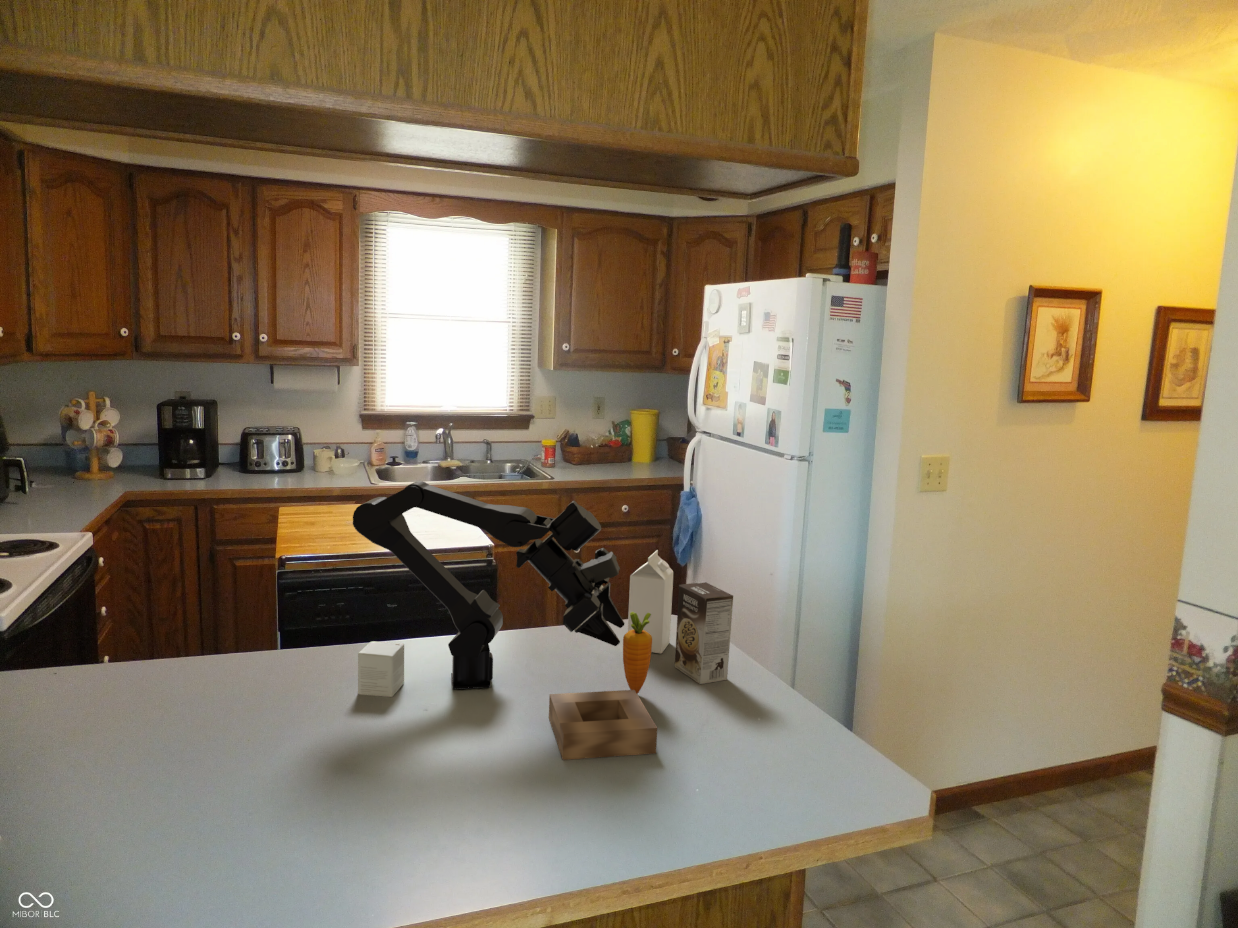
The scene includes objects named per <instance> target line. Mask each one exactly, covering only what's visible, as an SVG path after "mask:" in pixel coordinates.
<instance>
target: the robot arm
mask: <svg viewBox="0 0 1238 928" xmlns="http://www.w3.org/2000/svg"><path fill="white" fill-rule="evenodd" d="M414 508H418V509H419V510H420V509H421V510H424V511H426V512H430V513H433V514H437V515H440V516H443V517H445V518H448V519H451V520H456V521H458V522H461V523H464V524H467V525H471V526H474V527H476V528H479V529H481V530H483V531H484V532H486V533H488V535H490V537H492V538H494V539H495V540H497V541H499V542H501V543H503V544H505V545H507V546H508V547H512V548H519V549H518V550H517V551H516V552H515V554H516V565H515V567H516V568H517V569H520V568H522V566H524V565H525V564H526V563H527V562H528V563H529V564H530V565H531V566H532V567H533V568H534V569H535V571H536V572H537V573H538V574H539V575H540V576H541V577H543V579H545V581H546V582H547V583H548V584H549V585H548V587H547V588H548V590H549V591H551V592H554V591H556V593H557V594H558V595H559V596H560V597H561V598H562V599H563V600H564V601H565V604H564V606H565V607H566V610H565V612H564V614H563V616H562V618H563V619H562V621H563V623H562V624H563V625H564V627H566V628H567V630H568V631H569V632H570V633H573V632H574V633H576V634H577V633H579V634H581V635H582V634H583V635H585V636H588V637H591V638H594V639H596V640H599V641H601V642H604V643H606V644H608V645H610V646H614V647H617V646H619V645H620V644H621V640H620V639H619V638H618V635H617V634H616V633H615V631H614V630H613V628H612V626H610V624H611V625H613V626H616V628H619V629H621V628H623V627H624V626H625V622H624V620H623V617H622V616H621V614H620V612H619V611H618V609H617V607H616V605H615V603H614V601H613V600H612V597H611V582H609V580H610V579H612V578H615V577H616V576H618V575H619V574H620V573H619V571H620V570H621V568H620V566H619V563H618V561H617V556H616V555H615V554H614V552H613V551H608V550H607V549H606V548H604V547H602V548H599V549H597V550H595V553H594V559H593V558H592V559H590V561H587V562H583V561H582V560H580V559H577V558H575V559H573V558H572V557H571V556H570V554H568V553H567V552H570V551H574V552H578V551H579V550H581V548H582V547H583V546H585V545H586V544H587V543H588V542H589V541H590V540H591V539H592V538H593V537H595V536H596V535H597V534H598V533H600V531H601V530H602V526H601V524H600V522H599V520H598V519H597V518H596V517H595V516H594V514H593V513H592V512H591V511H589V510H587V509H586V508H585V507H583V506H582V505H580V504H578V502H576V501H575V500H572V501H571V502H569V504H567V506H566V507H565V509H564V510H563V511H562V512H561V513H560V514H559V515H557V517H555V518H554V517H549V516H544V515H540V514H539V515H538V514H536V512H534V511H533V510H532V509H531V508H528V507H523V506H517V505H516V506H515V505H510V504H509V505H508V504H491V503H487V502H484V501H481V500H477V499H474V498H471V497H468V496H465V495H462V494H459V493H455V492H453V491H449V490H447V489H444V488H440V487H437V486H434V485H432V484H431V485H430V484H429V483H427V482H425V481H422V480H417V481H414V482H411V483H410V484H408V485H406V486H405V487H404V488H403V489H402V490H400V491H397V492H396V493H394V494H392V495H390V496H388V497H386V496H377V497H374V498H372V499H370V500H368V501H366V502H363V503H362V504H360V505H358V506H357V507H356V509H355V510H354V511H353V514H352V526H353V528H354V529H355V531H356V532H357V533H359V534H360V535H361V536H362V537H363V538H366V539H367V540H368V541H369V542H371V543H373V544H374V545H377V546H378V547H381V548H383V549H386V550H387V551H389V552H391V553H392V554H393V556H395V557H396V558H397V559H398V560H399V561H400V562H401V564H402V565H403V566H405V567H406V569H408V570H409V572H410V573H412V574H413V575H414V576H415V578H417V580H418V581H420V583H422V585H424V587H426V588H427V590H428V591H430V593H431V594H433V596H435V597H436V599H437V600H438V601H439V602H440V603H441V604H442V605H443V606H444V607H445V608H446V609H447V610H448V612H449V615H450V616H451V619H452V622H453V624H454V626H455V628H456V629H457V630H458V632H457V633H456V634H455V635H454V637H453V638H452V639H451V640H450V642H448V649H449V651H450V656H452V660H451V661H452V665H451V666H452V667H451V668H452V669H451V670H452V672H451V674H450V675H451V679H450V680H451V689H453V690H466V689H485V688H487V689H488V688H491V686H492V685H491V681H492V680H493V676H494V657H493V653H492V652H491V649H490V645H489V644H490V643H492V641H493V640H494V638H495V637H496V636H497V635H498V633H499V631H500V630H501V628H502V627H503V624H504V622H503V621H504V615H503V613H502V611H501V609H500V608H499V607H500V606H501V604H500V603H498V602H496V601H495V600H493V599H492V598H491V596H490V595H489V594H488V592H487V591H486V590H485V589H482V590H481V591H480V592H479V593H478V594H477V593H474V592H473V591H470V590H469V589H468V588H466V587H465V586H464V585H463V584H462V583H461V582H460V581H459V580H458V579H457V578H456V576H454V575H453V574H452V573H451V572H450V571H449V570H448V569H447V568H446V567H445V566H444V564H442V562H440V560H438V559H437V558H436V556H434V554H432V552H431V551H429V550H428V549H427V547H426V546H425V545H424V544H423V543H422V542H421V541H420V540H419V539H418V538H417V537H416V536H415V535H414V534H413V533H412V531H411V530H410V528H409V525H408V523H407V520H406V518H405V515H404V513H407V512H408V511H410V510H412V509H414ZM549 532H551V533H550V534H549V535H548V536H547V537H545V536H546V535H547V534H548V533H549ZM543 537H545V538H544V539H543V540H541V539H542V538H543ZM530 541H533V542H532V543H530V544H529V545H528V546H527V547H526V548H525V549H523V548H521V547H523V546H525V545H527V544H528V543H529V542H530ZM566 551H567V552H566ZM604 584H605V585H604ZM609 623H610V624H609ZM566 628H565V629H566Z"/></svg>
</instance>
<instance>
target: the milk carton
mask: <svg viewBox="0 0 1238 928" xmlns="http://www.w3.org/2000/svg"><path fill="white" fill-rule="evenodd" d="M658 554H659V550H658V549H656V550H655V551H654V552H653V553H652V554H650V555H649V557H647V561H646V563H644V564H642V565H641V566H639V568H637V569H636V570H635V571H634V572H633V573H631V574H630V575H629V593H628V594H629V595H628V613H627V615H628V616H627V617H628V618H627V620H628V621H627V632H628V631H629V630H634V629H633V628H632V627H631V624H633V623H632V620H631V617H630V613H631V612H634V613H637V615H638V618H639V620H640V622H641V623H642V622H643V620H644V617H645V615H646V614H647V613H650V614H651V615H650V617H649V619H648V620H649V623H648V624H646V625H645V627H644V628H643V630H645V631H646V632H648V633H649V634H650V635H651V636H652V649H651V653H655V654H662V653H664V651H665V649H666V648H667V647H668V645H669V644H670V641H671V623H672V622H671V621H672V606H673V605H672V603H673V588H674V587H673V586H674V571H673V569H672V568H671V567H670V565H669V564H668V562H667V561H665V560H664V559H662V558H661V556H659V555H658ZM641 625H642V624H641Z"/></svg>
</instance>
